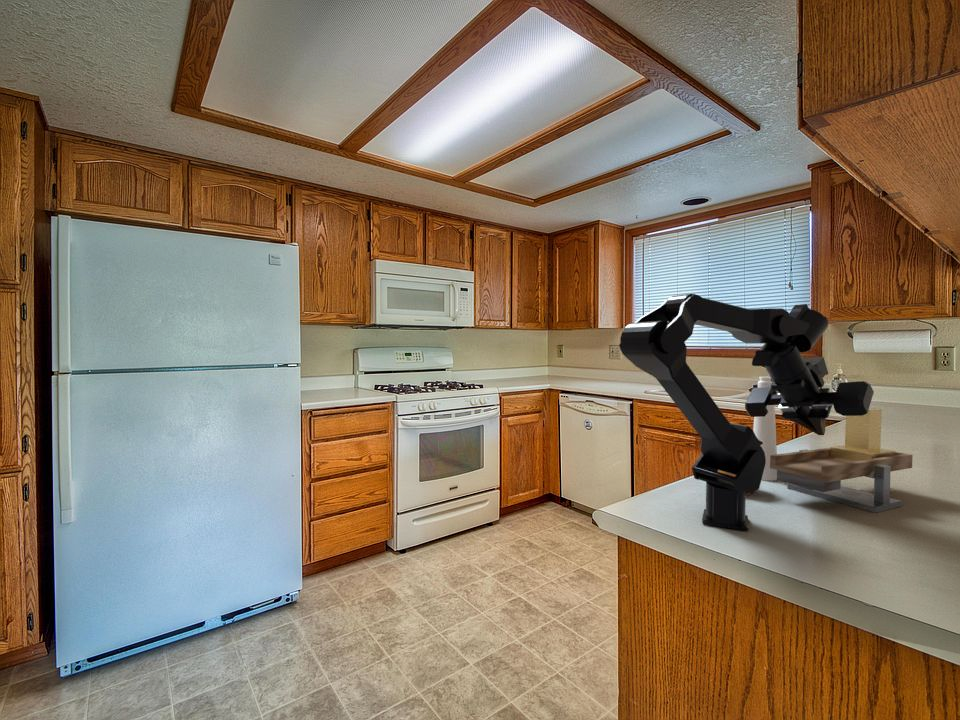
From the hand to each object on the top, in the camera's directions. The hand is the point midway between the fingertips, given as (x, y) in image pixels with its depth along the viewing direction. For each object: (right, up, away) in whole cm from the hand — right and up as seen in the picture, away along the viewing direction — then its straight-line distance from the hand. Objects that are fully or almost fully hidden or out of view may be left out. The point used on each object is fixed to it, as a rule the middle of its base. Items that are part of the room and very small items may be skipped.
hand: (822, 433), depth 85 cm
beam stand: (+6, -12, +3) cm, 14 cm away
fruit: (-11, -13, +7) cm, 19 cm away
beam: (+6, -9, +3) cm, 11 cm away
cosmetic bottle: (-1, -12, +16) cm, 20 cm away
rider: (+12, -6, +6) cm, 15 cm away
